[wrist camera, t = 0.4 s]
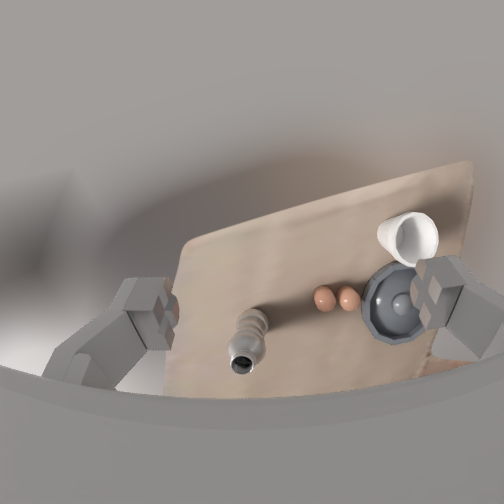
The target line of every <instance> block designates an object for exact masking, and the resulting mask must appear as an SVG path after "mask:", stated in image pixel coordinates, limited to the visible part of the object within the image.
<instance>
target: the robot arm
mask: <svg viewBox="0 0 504 504" xmlns="http://www.w3.org/2000/svg"><path fill="white" fill-rule="evenodd" d="M415 271H416V273H417V275H416V276H415V277H414V278H413V279H412V282H411V286H410V296H411V301H412V303H413V305H414V307H416V308H417V309H419V310H420V313H419V317H420V320H421V322H422V324H423V326H424V328H425V330H430V329H436V328H441V327H446V329H448V330H449V331H450V332H451V333H452V334H453V335H454V336H455V337H457V338H458V339H459V340H460V341H461V342H462V343H463V344H464V345H466V346H467V347H468V348H469V349H470V350H471V351H472V352H473V353H475V354H476V355H477V356H478V357H479V358H480V359H479V361H477V362H474V363H471V364H467V365H464V366H461V367H457V368H454V369H450V370H447V371H443V372H439V373H435V374H431V375H427V376H423V377H419V378H415V379H410V380H405V381H401V382H396V383H391V384H385V385H380V386H374V387H368V388H362V389H356V390H349V391H341V392H333V393H325V394H315V395H305V396H292V397H276V398H246V399H216V398H187V397H171V396H158V395H147V394H137V393H129V392H120V391H117V390H116V389H115V386H116V385H117V384H118V383H119V382H120V381H121V380H122V379H123V378H124V376H125V375H126V374H127V373H128V372H129V371H130V370H131V369H132V368H133V367H134V365H135V364H136V363H137V362H138V361H139V360H140V359H141V358H142V357H143V356H144V354H145V353H146V352H147V350H171V347H172V343H173V339H174V335H175V334H174V332H173V328H174V327H175V326H176V325H177V324H178V320H179V305H178V301H177V298H176V296H174V295H173V294H172V293H171V291H172V288H173V286H172V283H171V281H170V279H169V278H168V277H147V278H146V277H145V278H127V279H125V280H124V281H123V283H122V285H121V287H120V289H119V291H118V293H117V295H116V297H115V299H114V301H113V303H112V304H111V306H110V308H109V311H104V312H103V313H101V314H100V315H99V316H97V317H96V318H94V319H93V320H92V321H90V322H89V323H88V324H87V325H85V326H84V327H83V328H81V329H80V330H79V331H77V332H76V333H75V334H73V335H72V336H71V337H69V338H68V339H67V340H66V341H64V342H63V343H62V344H61V345H59V346H58V347H57V348H55V350H54V352H53V354H52V356H51V358H50V360H49V362H48V364H47V366H46V368H45V370H44V372H43V374H42V376H36V375H33V374H29V373H25V372H22V371H18V370H15V369H11V368H8V367H5V366H1V365H0V504H504V296H503V295H501V294H499V293H498V292H496V291H495V290H493V289H491V288H489V287H488V286H486V285H484V284H483V283H478V282H477V281H476V280H475V278H474V277H473V275H472V274H471V273H470V271H469V270H468V269H467V268H466V266H465V265H464V264H463V263H462V261H461V260H460V258H459V257H458V256H456V255H448V256H443V257H435V258H425V259H419V260H418V261H417V263H416V267H415Z"/></svg>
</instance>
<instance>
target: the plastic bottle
mask: <svg viewBox="0 0 504 504" xmlns="http://www.w3.org/2000/svg"><path fill="white" fill-rule="evenodd" d="M236 327H237V331H236V333H235V335H234V336H233V337H232V338H231V340H230V342H229V344H228V348H227V351H228V355H229V358H230V360H231V363H230V366H231V369H232V370H233V371H234V372H235V373H237V374H239V375H246V374H249V373H250V372H251V371H252V370H253V368H254V366H255V365H257V364H258V363H259V362H260V361H261V360H262V359H263V358H264V356H265V352H266V347H265V342H264V336H265V334H266V332H267V330H268V327H269V322H268V319H267V317H266V315H265V314H264V313H263V312H262V311H260V310H257V309H249V310H246V311H245V312H243V313H242V314H241V315H240V316H239V318H238V320H237V326H236Z"/></svg>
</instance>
